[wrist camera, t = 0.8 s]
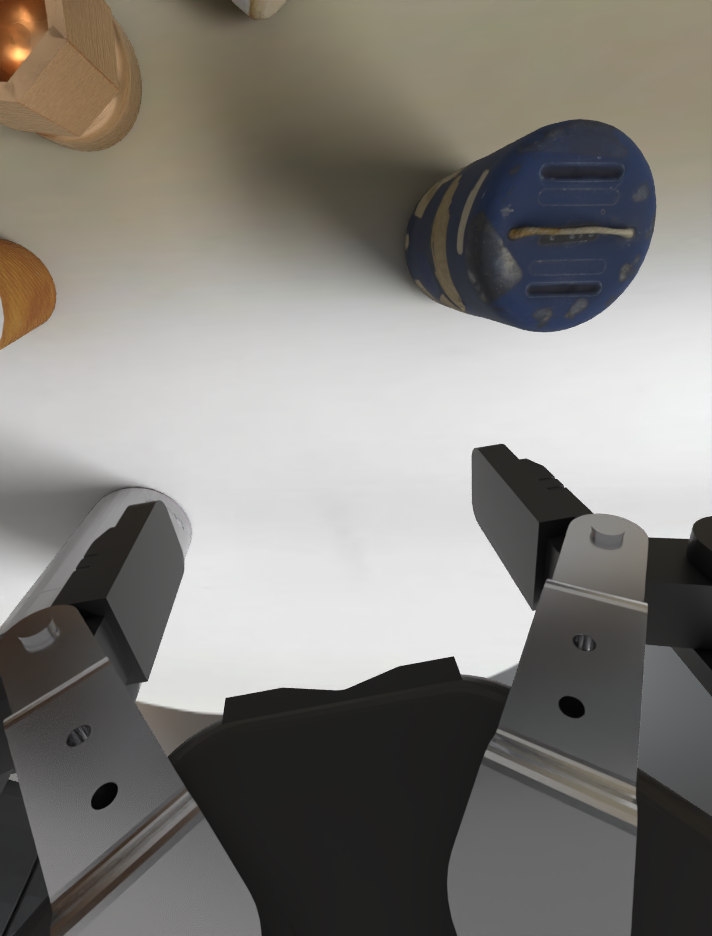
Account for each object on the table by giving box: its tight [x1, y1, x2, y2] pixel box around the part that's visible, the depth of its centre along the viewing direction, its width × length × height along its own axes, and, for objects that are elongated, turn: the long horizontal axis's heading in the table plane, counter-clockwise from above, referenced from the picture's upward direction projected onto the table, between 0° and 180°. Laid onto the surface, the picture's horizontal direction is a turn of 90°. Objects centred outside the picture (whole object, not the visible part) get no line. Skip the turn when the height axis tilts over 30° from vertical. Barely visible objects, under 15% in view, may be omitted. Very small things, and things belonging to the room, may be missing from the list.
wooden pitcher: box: [0, 0, 142, 151], centre depth 25 cm, size 11×9×12 cm
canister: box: [405, 119, 656, 332], centre depth 29 cm, size 10×10×18 cm
